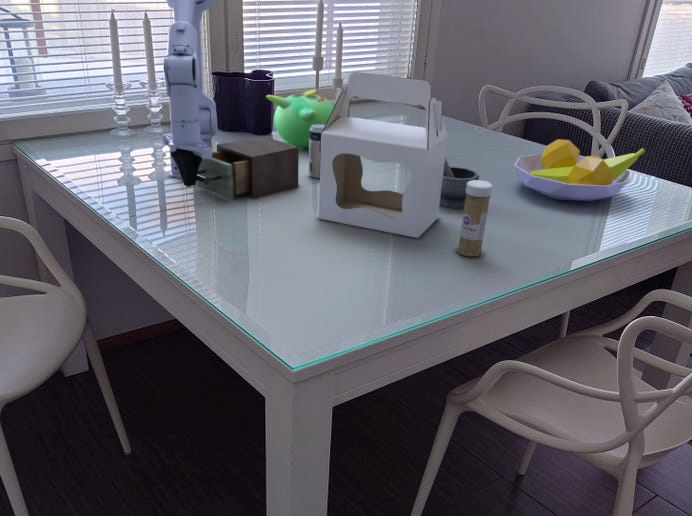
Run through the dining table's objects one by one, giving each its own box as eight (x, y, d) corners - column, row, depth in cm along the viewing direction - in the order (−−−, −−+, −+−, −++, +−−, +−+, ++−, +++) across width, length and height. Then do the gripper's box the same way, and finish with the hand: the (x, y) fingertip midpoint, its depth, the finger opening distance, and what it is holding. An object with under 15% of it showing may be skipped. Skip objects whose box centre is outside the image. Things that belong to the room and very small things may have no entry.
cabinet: (253, 198, 153) (252, 157, 148) (218, 184, 160) (216, 144, 156) (298, 186, 162) (298, 147, 157) (263, 173, 169) (262, 135, 164)
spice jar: (325, 180, 167) (327, 129, 160) (306, 178, 167) (307, 127, 161) (329, 174, 171) (331, 124, 164) (311, 172, 171) (312, 122, 165)
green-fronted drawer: (211, 203, 146) (210, 169, 143) (180, 190, 153) (178, 157, 149) (273, 188, 157) (273, 155, 153) (241, 176, 164) (240, 144, 160)
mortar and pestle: (477, 200, 158) (485, 146, 152) (471, 212, 151) (479, 157, 144) (429, 193, 161) (434, 141, 155) (420, 205, 153) (426, 151, 147)
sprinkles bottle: (452, 252, 131) (462, 182, 124) (465, 246, 134) (475, 177, 127) (473, 259, 129) (484, 188, 122) (485, 253, 132) (497, 183, 125)
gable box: (438, 218, 147) (456, 78, 132) (419, 239, 136) (436, 88, 122) (342, 200, 154) (349, 65, 139) (317, 218, 144) (321, 74, 129)
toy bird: (348, 146, 194) (351, 91, 186) (314, 159, 182) (316, 100, 174) (295, 135, 202) (296, 82, 194) (260, 147, 190) (259, 90, 182)
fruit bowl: (504, 201, 158) (512, 151, 152) (519, 170, 180) (527, 125, 174) (633, 220, 151) (647, 168, 145) (633, 186, 173) (645, 139, 167)
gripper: (148, 115, 142) (154, 180, 149) (189, 129, 134) (194, 197, 141) (177, 110, 146) (182, 174, 154) (219, 124, 138) (222, 190, 145)
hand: (189, 185), depth 147 cm, fingers closed, pressing on green-fronted drawer
